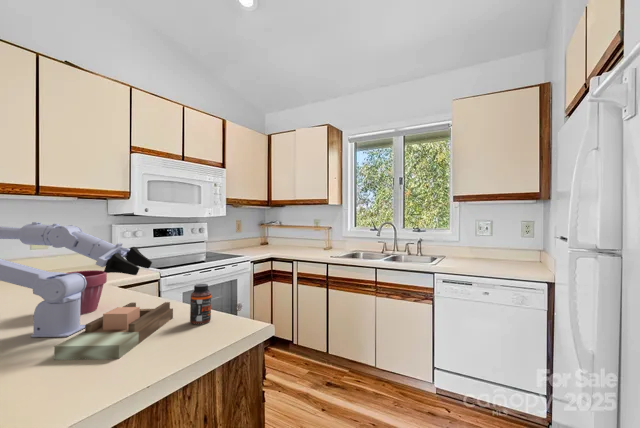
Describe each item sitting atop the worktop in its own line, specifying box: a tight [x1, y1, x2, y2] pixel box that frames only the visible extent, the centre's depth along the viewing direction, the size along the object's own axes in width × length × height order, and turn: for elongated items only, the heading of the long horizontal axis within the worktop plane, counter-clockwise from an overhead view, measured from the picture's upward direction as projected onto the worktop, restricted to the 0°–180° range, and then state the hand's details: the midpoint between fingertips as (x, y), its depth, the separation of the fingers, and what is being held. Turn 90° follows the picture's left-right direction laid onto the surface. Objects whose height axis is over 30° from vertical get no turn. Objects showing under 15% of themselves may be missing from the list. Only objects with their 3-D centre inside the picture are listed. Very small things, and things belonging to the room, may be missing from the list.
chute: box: [53, 301, 174, 361], centre depth 82 cm, size 14×28×5 cm, turn 3°
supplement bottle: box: [189, 283, 212, 325], centre depth 93 cm, size 6×6×11 cm
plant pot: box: [66, 269, 108, 316], centre depth 102 cm, size 14×14×13 cm
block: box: [102, 306, 141, 330], centre depth 81 cm, size 6×6×4 cm
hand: (144, 268), depth 87 cm, fingers open, 7 cm apart
